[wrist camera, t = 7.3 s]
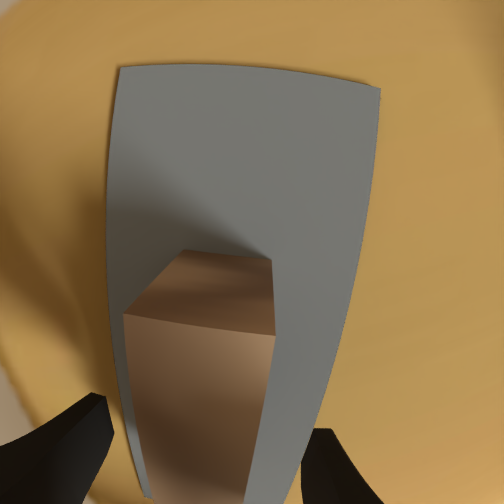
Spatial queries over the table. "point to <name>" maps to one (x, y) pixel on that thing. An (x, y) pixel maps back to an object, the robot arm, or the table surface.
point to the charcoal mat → (245, 219)
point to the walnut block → (201, 374)
